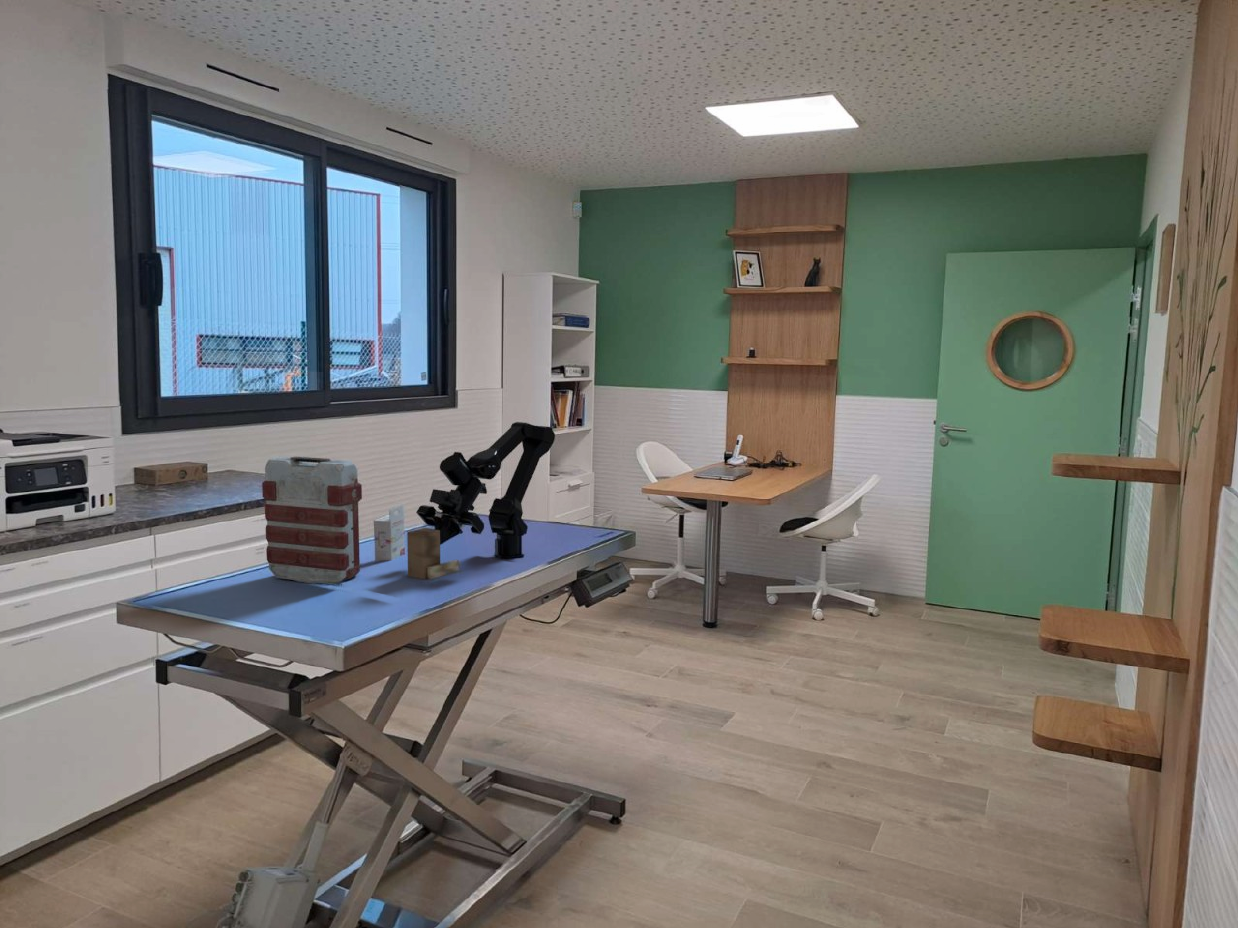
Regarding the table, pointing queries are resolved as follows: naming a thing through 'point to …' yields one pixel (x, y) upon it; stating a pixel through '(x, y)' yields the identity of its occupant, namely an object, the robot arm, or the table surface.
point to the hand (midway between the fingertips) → (433, 546)
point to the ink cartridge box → (389, 535)
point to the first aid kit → (312, 519)
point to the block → (422, 551)
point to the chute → (443, 569)
